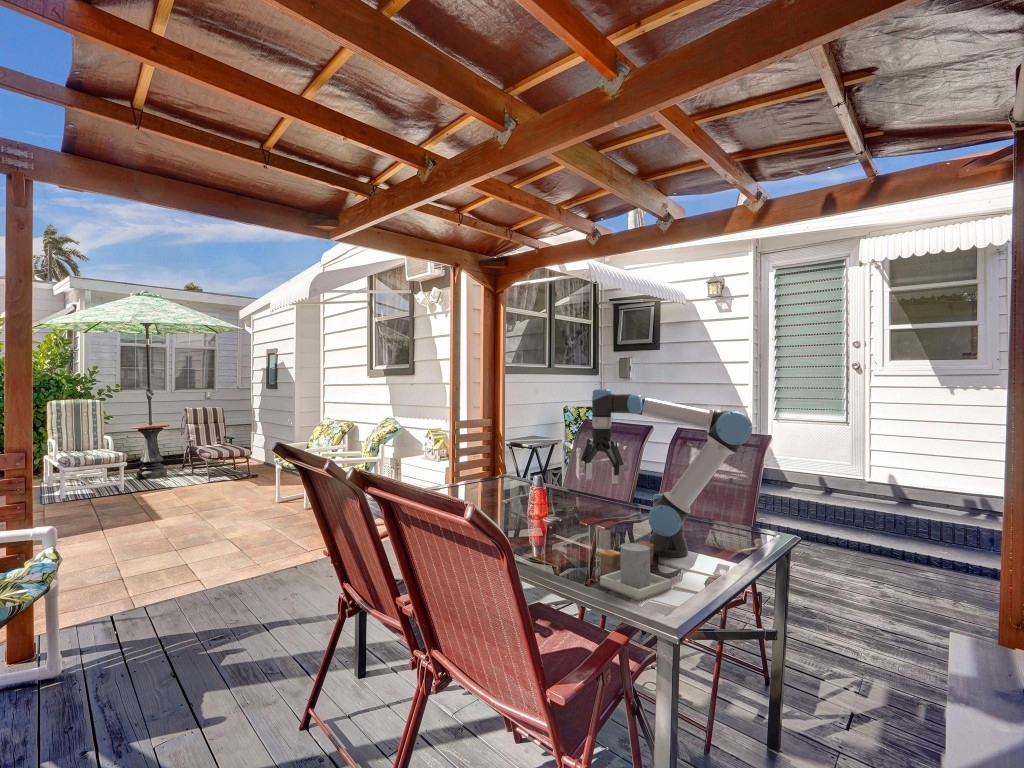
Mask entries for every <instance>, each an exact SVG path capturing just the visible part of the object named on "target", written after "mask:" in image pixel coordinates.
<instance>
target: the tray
mask: <svg viewBox="0 0 1024 768" xmlns="http://www.w3.org/2000/svg"><path fill="white" fill-rule="evenodd" d="M620 582H621V570H619V571H616V572H613V573H610V574H606V575H600V576H599V585H600V587H602V588H605V589H608V590H611V591H613V592H616V593H618V594H620V595H623V596H625V597H629V598H631V599H633V600H635V601H638V602H641V601H644V600H646V599H650V598H652V597H655V596H657V595H660V594H662V593H665V592H668V591H671V590H672V579H669V578H666V577H663V576H660V575H657V574H655V573H651V572H650V586H648V587H645V588H642V589H636V588H634V587H631V586H628V585H626V584H623V583H620Z"/></svg>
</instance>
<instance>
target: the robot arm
mask: <svg viewBox="0 0 1024 768" xmlns="http://www.w3.org/2000/svg"><path fill="white" fill-rule="evenodd" d="M591 396H592V397H591V398H592V399H591V407H592V408H591V410H592V416H591V417H592V419H591V420H592V424H591V425H592V426H591V427H592V429H591V437H592V438H587V440H586V445H585V447H584V451H583V453H582V456H581V461H582V462H584V464H585V465H584V466H585V467H584V469H585V471H586V472H585V474H586V475H585V479H586V480H592V479H593V463H592V460H593V459H594V458H595V456H596V454H597V453H598V452H604V453H605V454H606V456H607V457H608V459H609V461H610V462H611V464H612V466H611V484H613V485H614V484H615V485H616V484H618V483H619V475H620V467H621V466H624V461H623V457H622V455H621V453H620V449H619V447H618V441H617V440H611V437H612V414H631V415H633V414H634V415H639V416H644V417H649V418H653V419H657V420H660V421H661V420H662V421H666V422H669V423H670V422H671V423H675V424H680V425H685V426H689V427H694V428H697V429H701V430H705V431H706V432H707V434H706V437H707V441H706V443H705V444H704V445H703V446H702V448H701V449H700V451H699V452H698V453H697V455H696V456H695V457H694V459H693V460H692V462H690V464H689V466H688V467H687V468H686V470H685V471H684V472H683V473H682V475H681V476H680V478H679V479H678V480H677V481H676V483H675V484H674V486H672V488H671V490H670V491H665V492H663V493H655V494H653V498H652V502H653V503H652V508H651V509H650V511H649V512H648V517H647V518H648V519H647V520H648V524H649V526H650V528H651V529H652V534H651V537H650V540H649V543H651V544H654V546H653V555H656V556H660V557H664V558H665V557H667V558H682V557H686V556H688V555H689V547H688V545H687V540H686V538H685V535H684V522H685V521H686V519H687V518H688V517H689V515H690V514H691V511H692V510H691V506H692V504H693V503H694V501H695V500H696V499H697V497H698V496H699V495H700V494H701V492H702V491H703V489H704V488H705V487H706V486H707V484H708V483H709V481H710V480H711V479H712V477H713V476H714V475H715V474H716V472H717V471H718V470H719V468H720V467H721V465H722V464H723V463H724V462H725V460H726V459H727V458H728V456H730V455H735V454H736V453H737V452H738V451H739V449H740V448H741V447H742V445H743V444H744V443H746V442H747V441H748V440H749V439H750V437H751V436H752V434H753V433H752V432H753V423H752V421H751V418H749V417H748V415H746V414H745V413H743V412H741V411H740V410H739V411H738V410H719V409H714V408H712V409H710V410H708V409H702V408H697V407H692V406H689V405H683V404H677V403H674V402H669V401H664V400H658V399H655V398H649V397H644V396H642V395H641V394H636V393H631V394H630V393H628V394H625V393H622V394H621V393H620V394H618V393H617V394H615V393H612V390H611V389H605V388H604V389H603V388H602V389H601V388H600V389H597V388H596V389H593V391H592V395H591Z"/></svg>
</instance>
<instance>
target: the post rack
mask: <svg viewBox="0 0 1024 768" xmlns="http://www.w3.org/2000/svg"><path fill="white" fill-rule="evenodd" d="M636 543H641V544H645V545H648V546H649V547H650V567H651V566H654V554H653V546H654V544H651V543H650V542H647V541H643V540H641V541H638V542H637V541H636ZM599 553H600V574H601V576H603V575H606V574H610V573H613V572H616V571H619V570H621V551H617V550H614V549H607V550H604V551H603V550H602V551H600V552H599Z"/></svg>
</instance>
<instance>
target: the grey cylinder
mask: <svg viewBox="0 0 1024 768" xmlns="http://www.w3.org/2000/svg"><path fill="white" fill-rule="evenodd" d="M620 553H621V582H620V583H623V584H626V585H628V586H631V587H634V588H636V589H642V588H645V587H648V586H650V573H651V566H650V547H649V546H648V545H645V544H641V543H637V542H626V543H625V542H624V543H621V544H620Z"/></svg>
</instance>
